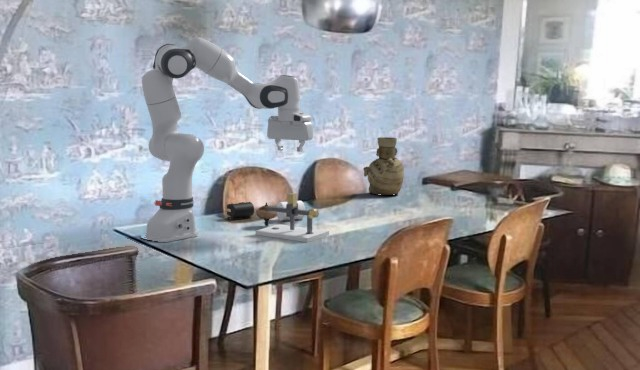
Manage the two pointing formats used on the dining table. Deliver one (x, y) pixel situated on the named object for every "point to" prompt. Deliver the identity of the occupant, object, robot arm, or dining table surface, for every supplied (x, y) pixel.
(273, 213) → the brown spinning top
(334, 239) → the dining table surface
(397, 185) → the ceramic vessel
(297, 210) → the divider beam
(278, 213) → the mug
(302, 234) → the hole board
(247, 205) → the end cap
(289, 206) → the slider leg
